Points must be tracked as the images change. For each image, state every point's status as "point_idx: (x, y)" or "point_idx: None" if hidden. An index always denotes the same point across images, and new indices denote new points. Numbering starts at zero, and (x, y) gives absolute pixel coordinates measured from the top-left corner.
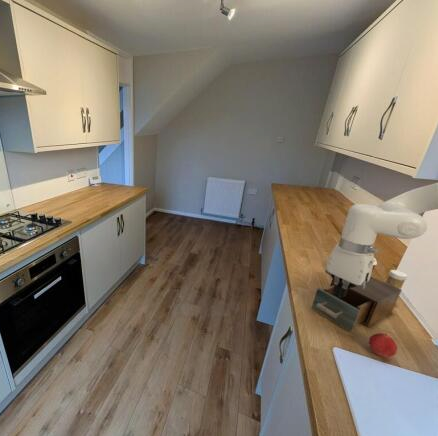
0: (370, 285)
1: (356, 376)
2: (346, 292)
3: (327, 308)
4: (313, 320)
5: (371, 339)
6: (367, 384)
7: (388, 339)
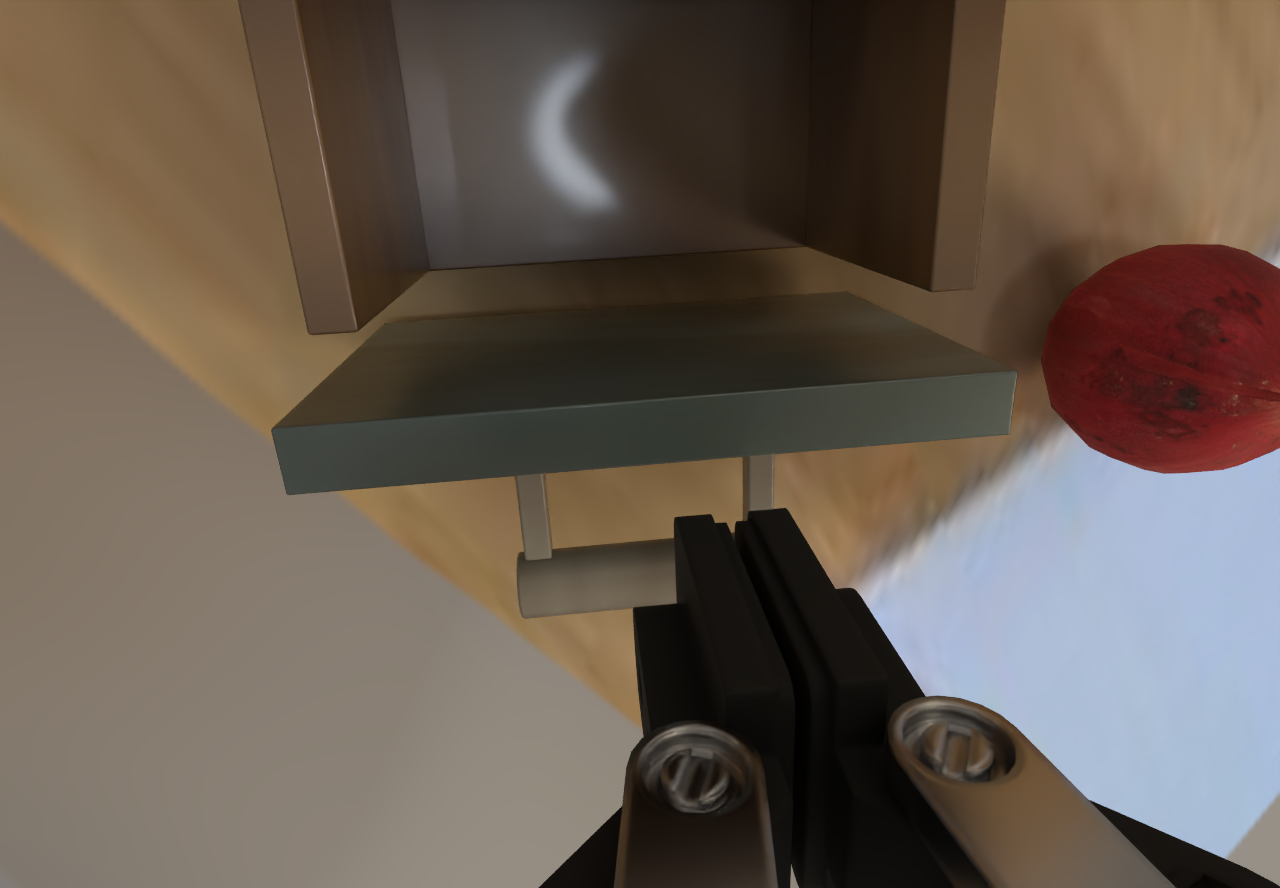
0: None
1: (1051, 693)
2: (881, 652)
3: (651, 582)
4: (548, 490)
5: (1108, 444)
6: (1113, 684)
7: None
